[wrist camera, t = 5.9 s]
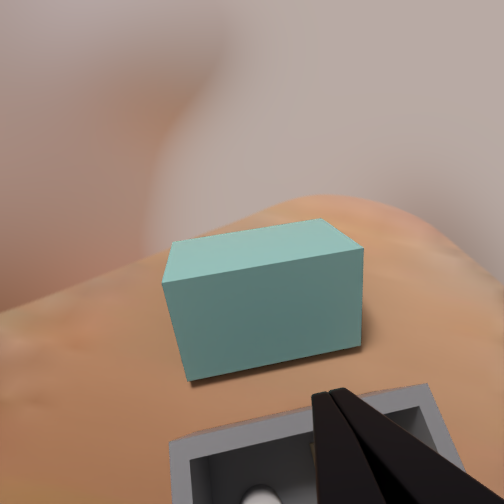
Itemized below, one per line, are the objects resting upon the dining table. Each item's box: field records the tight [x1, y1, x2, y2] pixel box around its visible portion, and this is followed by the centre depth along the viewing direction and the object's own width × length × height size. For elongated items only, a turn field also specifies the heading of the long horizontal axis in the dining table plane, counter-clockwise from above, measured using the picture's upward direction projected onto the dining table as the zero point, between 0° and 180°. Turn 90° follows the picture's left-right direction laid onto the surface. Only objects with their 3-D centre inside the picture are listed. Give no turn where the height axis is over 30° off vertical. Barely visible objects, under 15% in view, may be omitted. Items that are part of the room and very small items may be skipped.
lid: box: [162, 218, 364, 382], centre depth 16 cm, size 6×9×5 cm
